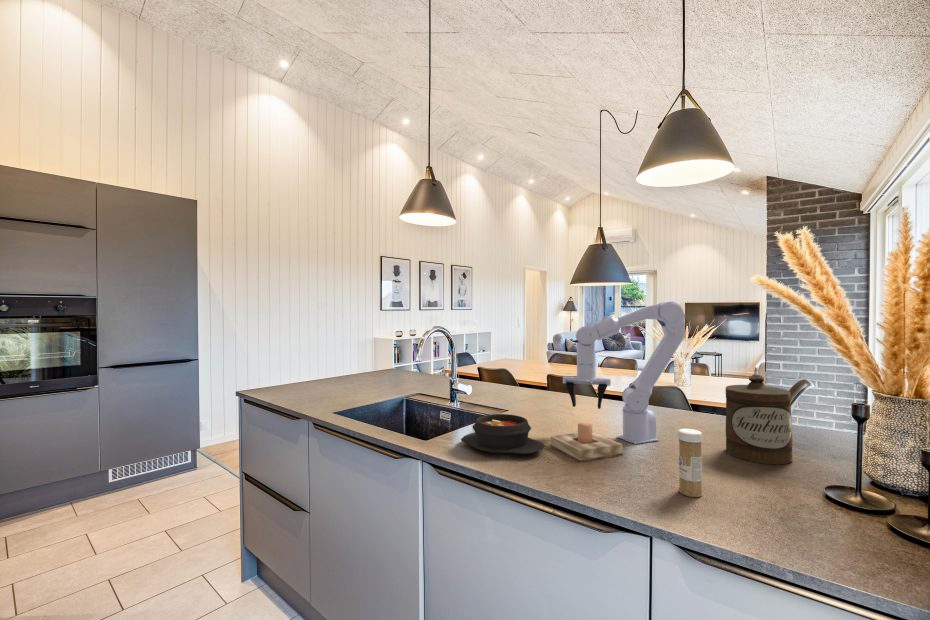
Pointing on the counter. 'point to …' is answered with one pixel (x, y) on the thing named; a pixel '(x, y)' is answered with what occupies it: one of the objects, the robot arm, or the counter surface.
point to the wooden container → (759, 422)
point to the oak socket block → (586, 447)
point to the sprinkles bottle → (690, 462)
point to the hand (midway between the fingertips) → (586, 407)
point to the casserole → (502, 435)
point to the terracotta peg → (585, 433)
